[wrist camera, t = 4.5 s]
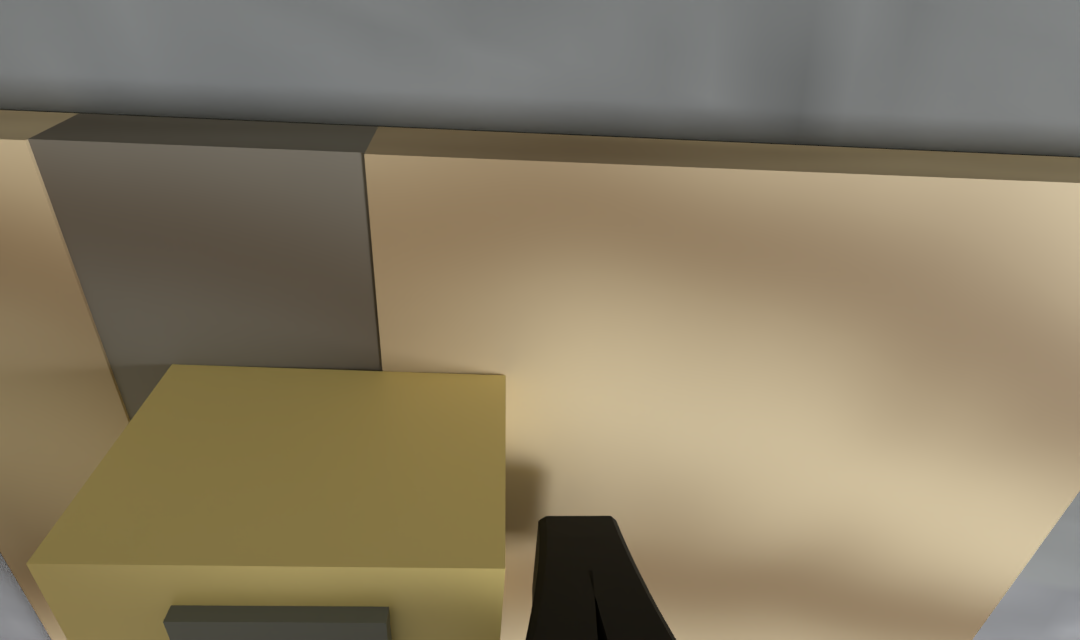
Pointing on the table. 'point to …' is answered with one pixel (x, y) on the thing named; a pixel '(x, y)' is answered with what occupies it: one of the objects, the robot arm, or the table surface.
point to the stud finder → (290, 511)
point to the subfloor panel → (589, 339)
